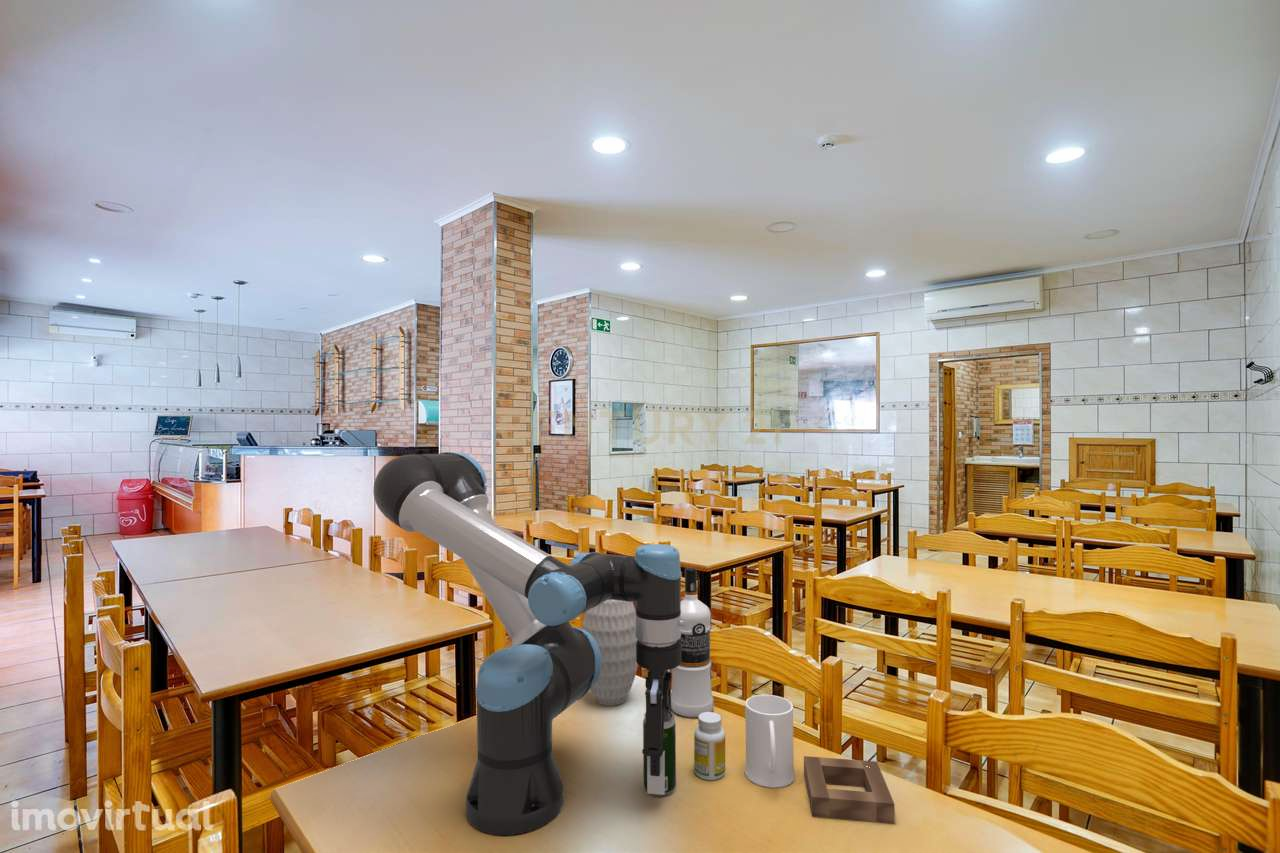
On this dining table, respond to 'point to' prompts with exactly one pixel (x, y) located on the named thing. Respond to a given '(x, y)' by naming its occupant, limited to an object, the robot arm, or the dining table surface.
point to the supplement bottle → (709, 747)
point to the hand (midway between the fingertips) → (659, 777)
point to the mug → (769, 741)
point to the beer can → (670, 753)
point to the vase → (613, 648)
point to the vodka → (693, 655)
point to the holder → (846, 802)
